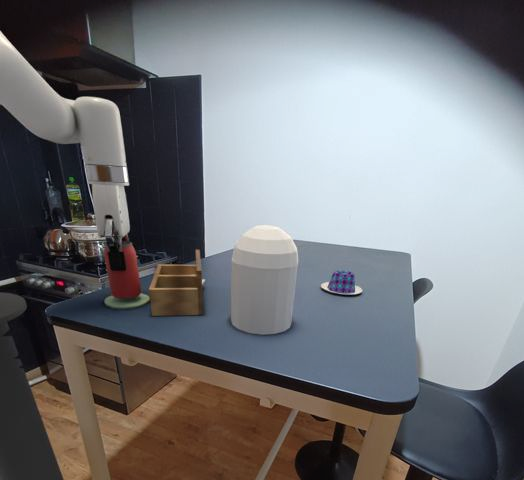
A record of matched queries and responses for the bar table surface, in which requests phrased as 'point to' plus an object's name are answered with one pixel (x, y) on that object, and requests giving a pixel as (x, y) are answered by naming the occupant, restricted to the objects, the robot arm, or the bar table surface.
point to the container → (263, 280)
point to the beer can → (124, 274)
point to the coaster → (127, 302)
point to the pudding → (342, 283)
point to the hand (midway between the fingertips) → (122, 265)
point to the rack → (177, 289)
